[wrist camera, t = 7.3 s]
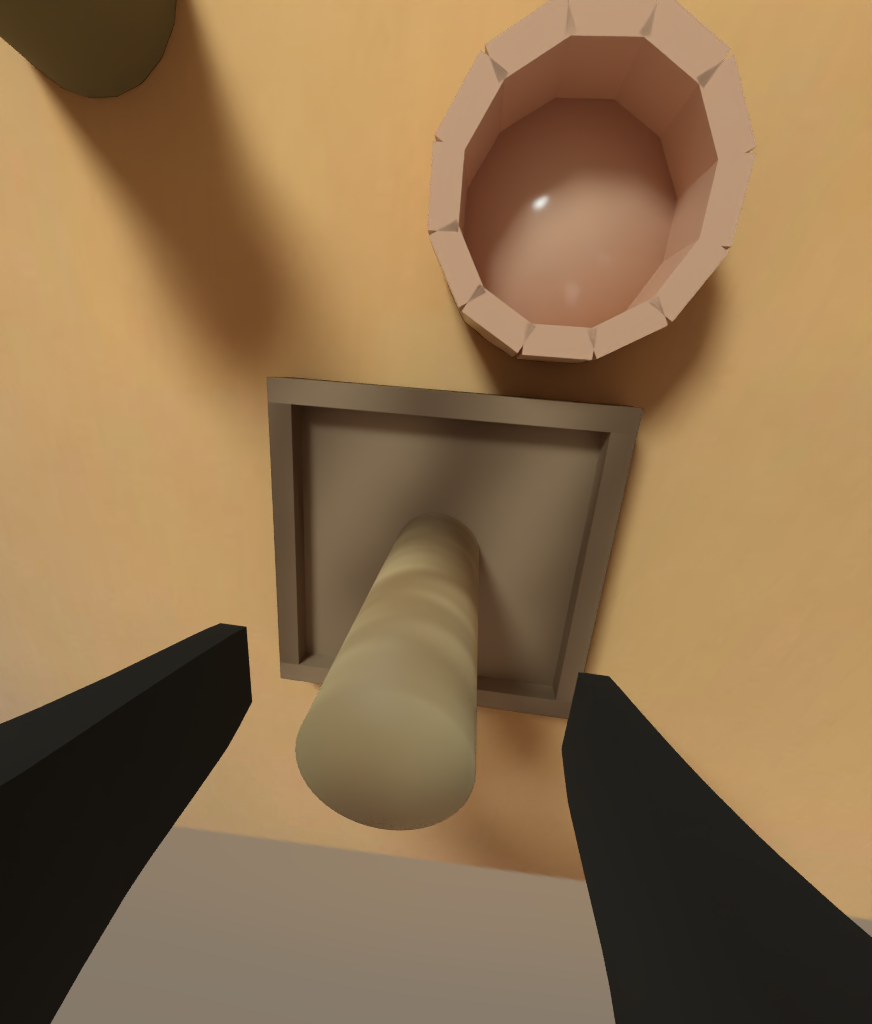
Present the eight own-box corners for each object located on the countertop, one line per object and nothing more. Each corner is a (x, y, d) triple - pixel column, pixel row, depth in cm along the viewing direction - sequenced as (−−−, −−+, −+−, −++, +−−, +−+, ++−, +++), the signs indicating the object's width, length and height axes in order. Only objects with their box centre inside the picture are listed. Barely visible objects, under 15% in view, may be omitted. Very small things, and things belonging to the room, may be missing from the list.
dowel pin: (484, 519, 15) (488, 708, 7) (473, 596, 16) (463, 844, 8) (398, 507, 15) (294, 676, 7) (392, 584, 16) (296, 812, 8)
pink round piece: (725, 80, 11) (798, -11, 9) (658, 370, 14) (700, 368, 11) (451, 73, 12) (442, -13, 9) (431, 352, 14) (420, 347, 12)
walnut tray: (625, 405, 14) (642, 408, 13) (565, 691, 18) (572, 719, 16) (288, 377, 15) (266, 376, 14) (297, 654, 19) (280, 678, 17)
